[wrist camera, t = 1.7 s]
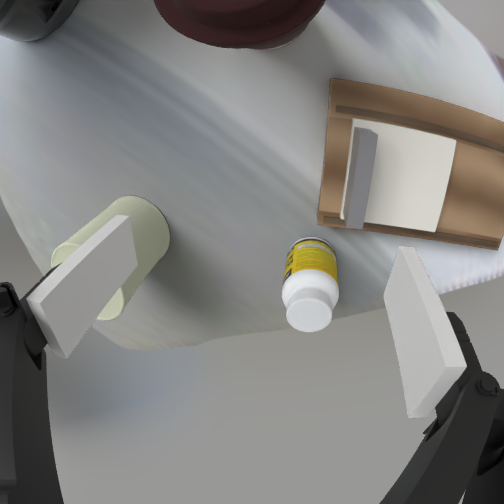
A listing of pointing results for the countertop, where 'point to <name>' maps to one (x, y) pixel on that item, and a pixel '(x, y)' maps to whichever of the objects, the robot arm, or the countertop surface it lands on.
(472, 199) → the board
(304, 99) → the countertop surface
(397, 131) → the lid
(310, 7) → the coffee cup
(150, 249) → the can
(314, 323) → the supplement bottle
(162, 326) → the countertop surface
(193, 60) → the countertop surface
